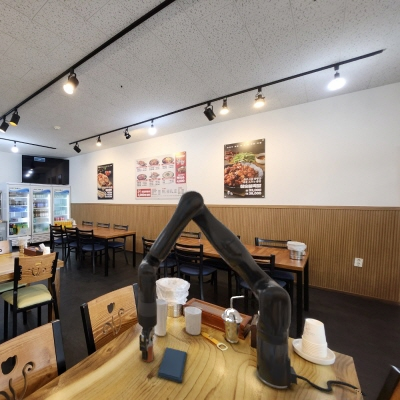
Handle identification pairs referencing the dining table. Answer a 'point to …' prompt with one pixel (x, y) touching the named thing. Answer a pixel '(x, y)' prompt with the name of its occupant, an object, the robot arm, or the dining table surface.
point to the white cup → (193, 320)
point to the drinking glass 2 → (161, 317)
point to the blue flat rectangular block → (172, 365)
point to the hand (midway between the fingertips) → (147, 353)
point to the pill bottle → (149, 352)
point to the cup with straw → (232, 323)
